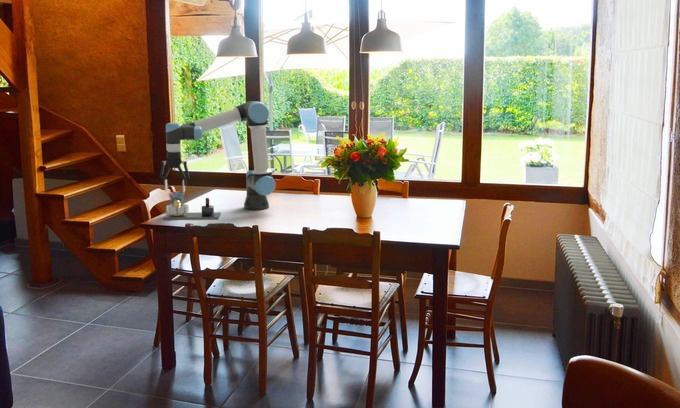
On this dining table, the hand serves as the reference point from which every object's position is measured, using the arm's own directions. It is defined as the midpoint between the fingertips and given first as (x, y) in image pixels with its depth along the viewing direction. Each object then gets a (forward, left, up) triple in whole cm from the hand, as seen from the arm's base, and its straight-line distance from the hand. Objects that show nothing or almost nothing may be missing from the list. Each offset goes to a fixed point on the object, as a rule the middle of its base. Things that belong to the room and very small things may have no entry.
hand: (175, 191), depth 376 cm
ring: (0, -4, -12) cm, 13 cm away
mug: (+3, -24, -16) cm, 29 cm away
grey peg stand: (-9, -4, -15) cm, 18 cm away
